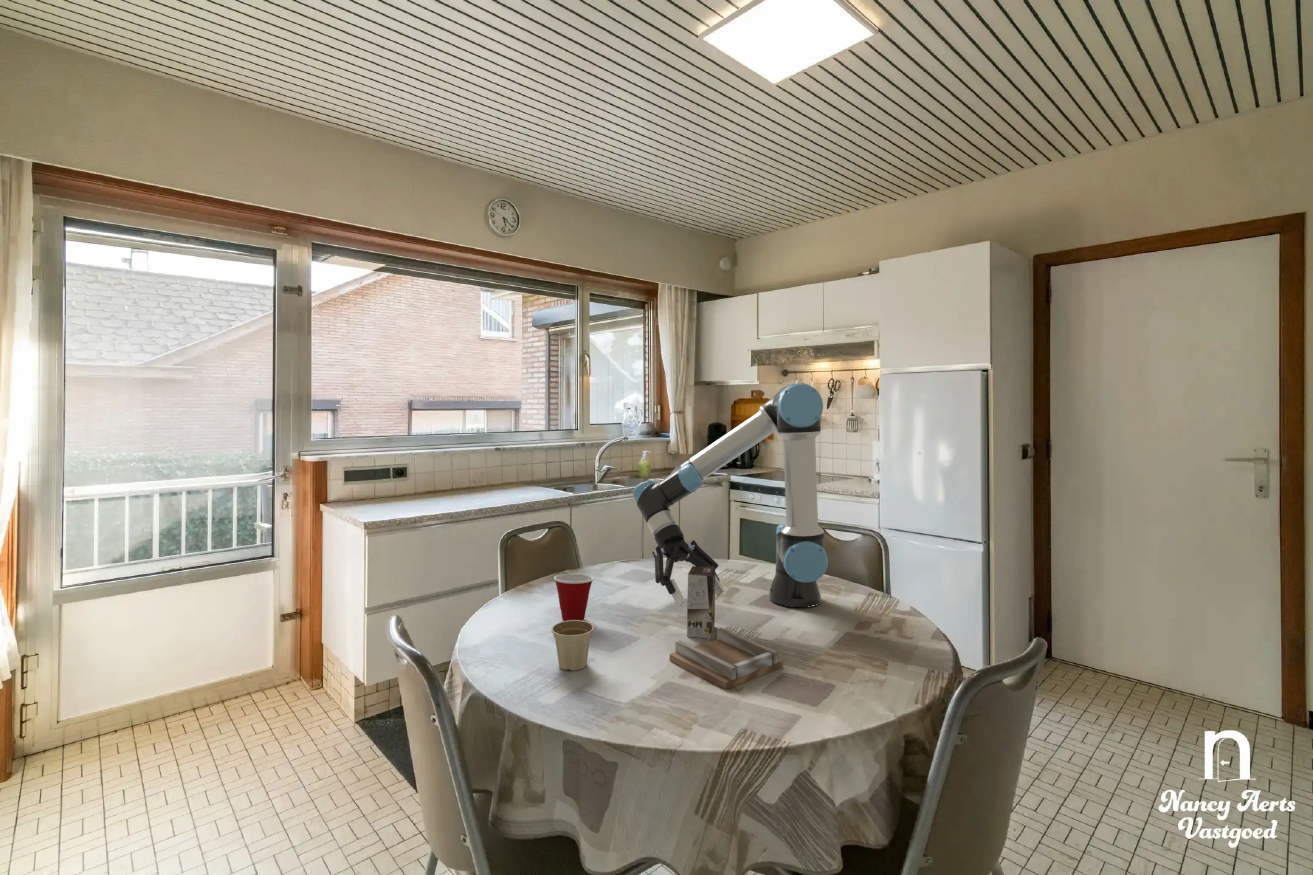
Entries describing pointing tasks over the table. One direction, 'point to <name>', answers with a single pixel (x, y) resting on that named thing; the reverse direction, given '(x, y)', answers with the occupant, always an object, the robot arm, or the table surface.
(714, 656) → the rail holder
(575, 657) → the flower pot
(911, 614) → the table surface
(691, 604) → the coffee box
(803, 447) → the robot arm
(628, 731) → the table surface
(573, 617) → the plastic cup
